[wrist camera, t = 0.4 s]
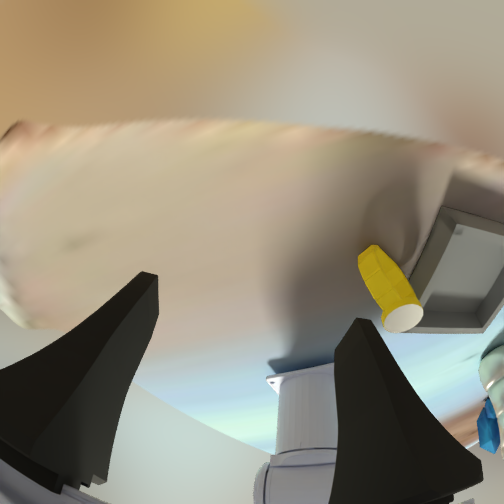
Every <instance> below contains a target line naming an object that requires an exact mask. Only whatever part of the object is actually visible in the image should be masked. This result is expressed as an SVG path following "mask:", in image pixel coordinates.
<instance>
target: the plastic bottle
mask: <svg viewBox="0 0 504 504" xmlns="http://www.w3.org/2000/svg"><path fill="white" fill-rule="evenodd" d="M478 371H479V377H480V381H481V383H482V385H483V387H484V389H485V390H486V392H488V395H489V398H490V400H491V402H492V405H493V407H494V410H495V413H496V417H497V419H498V420H497V422H498V426H499V431H500V442H501V453H502V458H503V459H504V345H502V346H499V347H497V348H496V349H494V350H493V351H491V352H490V353H489V354H487V355H486V356H485V357H484V358H483V359H482V361H481V362H480V365H479V370H478Z"/></svg>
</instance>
